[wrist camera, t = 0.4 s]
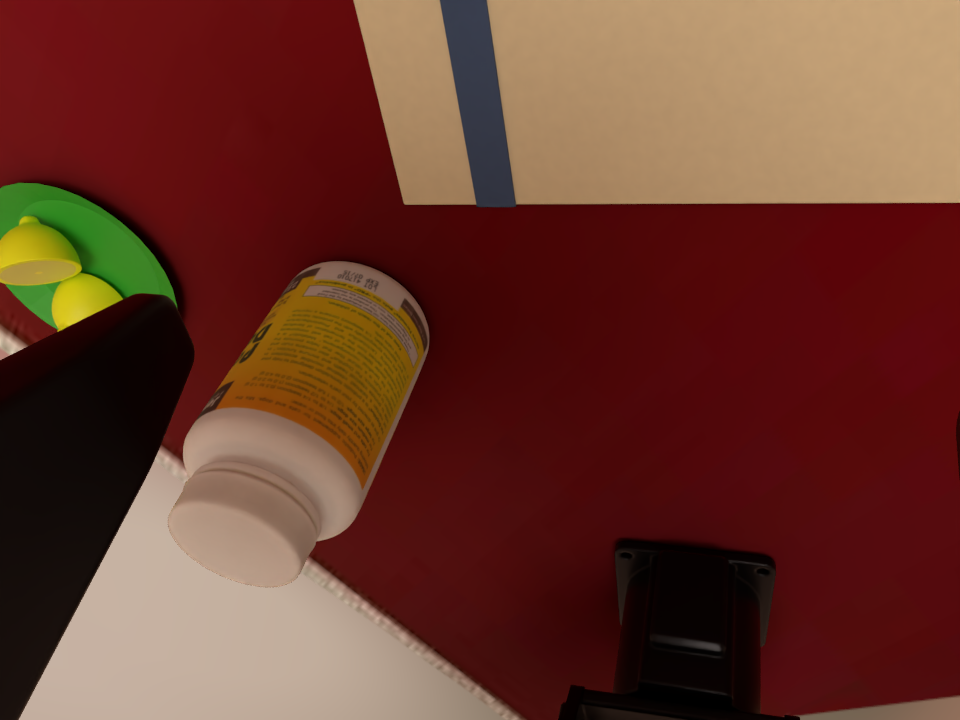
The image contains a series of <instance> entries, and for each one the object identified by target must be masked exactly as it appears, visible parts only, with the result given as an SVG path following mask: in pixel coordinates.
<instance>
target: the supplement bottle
mask: <svg viewBox="0 0 960 720" xmlns="http://www.w3.org/2000/svg"><path fill="white" fill-rule="evenodd" d="M428 349H429V329H428V325H427V321H426V318H425V316H424V314H423V312H422V310H421V308H420V306H419V305H418V303H417V302H416V300H415V299H414V298H413V296H412V295H411V294H410V293H409V292H408V291H407V290H406V289H405V288H404V287H403V286H402V285H401V284H399V283H398V282H397V281H395V280H394V279H392V278H391V277H389V276H388V275H386V274H384V273H382V272H380V271H378V270H376V269H374V268H371V267H369V266H365V265H362V264H358V263H353V262H346V261H330V262H323V263H319V264H316V265H313V266H311V267H309V268H307V269H305V270H303V271H302V272H301V273H299V274H298V275H297V276H296V277H295V278H294V279H293V280H292V281H291V282H290V284H289V285H288V287H287V288H286V289H285V291H284V292H283V293H282V295H281V296H280V298H279V299H278V300H277V302H276V304H275V305H274V307H273V308H272V309H271V311H270V312H269V314H268V315H267V317H266V318H265V320H264V321H263V323H262V324H261V326H260V327H259V329H258V330H257V332H256V333H255V334H254V336H253V337H252V339H251V340H250V342H249V343H248V345H247V346H246V348H245V349H244V351H243V352H242V353H241V355H240V357H239V358H238V360H237V361H236V363H235V364H234V365H233V367H232V368H231V370H230V371H229V373H228V374H227V376H226V377H225V379H224V380H223V382H222V383H221V385H220V386H219V387H218V389H217V390H216V392H215V393H214V395H213V396H212V397H211V399H210V400H209V402H208V404H207V405H206V406H205V408H204V409H203V411H202V412H201V414H200V415H199V417H198V418H197V420H196V421H195V423H194V424H193V426H192V427H191V429H190V431H189V432H188V434H187V436H186V439H185V442H184V447H183V460H184V465H185V469H186V471H187V473H188V476H189V478H190V479H189V480H188V481H187V482H186V484H185V486H184V488H183V492H182V493H181V495H180V497H179V499H178V500H177V502H176V503H175V505H174V506H173V508H172V510H171V512H170V514H169V517H168V527H169V531H170V533H171V535H172V537H173V539H174V540H175V542H176V543H177V544H178V545H179V547H180V548H181V549H182V550H183V551H184V552H186V554H187V555H189V556H190V557H191V558H192V559H193V560H195V561H196V562H197V563H199V564H200V565H202V566H204V567H205V568H207V569H209V570H211V571H213V572H215V573H216V574H219V575H220V576H223V577H225V578H228V579H230V580H233V581H236V582H240V583H243V584H247V585H253V586H258V587H278V586H283V585H286V584H288V583H290V582H292V581H294V580H295V579H296V578H297V577H298V575H299V574H300V572H301V570H302V568H303V566H304V564H305V562H306V560H307V558H308V556H309V554H310V552H311V551H312V550H313V548H314V546H315V544H316V541H321V540H325V539H329V538H331V537H334V536H336V535H338V534H340V533H341V532H343V531H344V530H345V529H347V528H348V527H349V526H350V525H351V523H352V522H353V521H354V519H355V518H356V516H357V514H358V512H359V511H360V509H361V507H362V505H363V502H364V500H365V498H366V495H367V493H368V491H369V489H370V486H371V484H372V482H373V479H374V477H375V475H376V473H377V470H378V468H379V466H380V463H381V461H382V459H383V456H384V454H385V452H386V449H387V447H388V445H389V442H390V440H391V438H392V436H393V433H394V431H395V429H396V427H397V424H398V422H399V420H400V417H401V415H402V413H403V410H404V408H405V406H406V403H407V401H408V399H409V396H410V394H411V392H412V389H413V387H414V385H415V383H416V380H417V378H418V376H419V373H420V371H421V368H422V366H423V363H424V361H425V358H426V356H427V353H428Z"/></svg>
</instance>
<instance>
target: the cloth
mask: <svg viewBox="0 0 960 720" xmlns="http://www.w3.org/2000/svg"><path fill="white" fill-rule="evenodd" d="M354 4H355V8H356V12H357V16H358V20H359V24H360V28H361V32H362V37H363V41H364V45H365V49H366V53H367V57H368V61H369V65H370V69H371V73H372V77H373V81H374V85H375V89H376V93H377V97H378V101H379V105H380V109H381V113H382V117H383V122H384V126H385V130H386V134H387V138H388V142H389V146H390V150H391V154H392V158H393V162H394V166H395V170H396V174H397V178H398V182H399V186H400V190H401V194H402V198H403V202H404V204H405V205H471V204H476V205H477V207H516V204H748V203H960V0H354Z"/></svg>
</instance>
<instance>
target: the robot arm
mask: <svg viewBox="0 0 960 720" xmlns="http://www.w3.org/2000/svg"><path fill="white" fill-rule="evenodd" d="M193 362H194V345H193V343H192V340H191V338H190V336H189V334H188V331H187V329H186V327H185V325H184V323H183V320H182V318H181V316H180V314H179V312H178V309H177V307H176V305H175V303H174V302H173V301H172V300H171V299H170V298H169V297H168V296H165V295H161V294H147V293H137V294H133V295H131V296H129V297H127V298H125V299H123V300H121V301H119V302H117V303H115V304H113V305H111V306H109V307H107V308H105V309H103V310H101V311H99V312H97V313H95V314H93V315H91V316H89V317H87V318H85V319H83V320H81V321H79V322H77V323H75V324H72V325H70V326H68V327H66V328H64V329H62V330H60V331H58V332H56V333H54V334H52V335H50V336H48V337H46V338H44V339H42V340H40V341H38V342H36V343H34V344H32V345H30V346H28V347H26V348H24V349H22V350H20V351H18V352H16V353H14V354H12V355H10V356H8V357H6V358H4V359H2V360H0V720H19V718H20V716H21V714H22V712H23V710H24V708H25V706H26V704H27V702H28V701H29V699H30V697H31V695H32V693H33V691H34V689H35V687H36V685H37V684H38V681H39V680H40V678H41V676H42V674H43V672H44V670H45V668H46V666H47V665H48V663H49V661H50V659H51V657H52V655H53V653H54V651H55V649H56V647H57V645H58V644H59V642H60V640H61V638H62V636H63V634H64V632H65V630H66V628H67V627H68V624H69V623H70V621H71V619H72V617H73V615H74V613H75V611H76V610H77V608H78V606H79V604H80V602H81V600H82V598H83V596H84V594H85V592H86V591H87V589H88V587H89V585H90V583H91V581H92V579H93V577H94V575H95V573H96V572H97V569H98V568H99V566H100V564H101V562H102V560H103V558H104V556H105V554H106V552H107V551H108V549H109V547H110V545H111V543H112V541H113V539H114V537H115V536H116V534H117V532H118V530H119V528H120V526H121V524H122V522H123V520H124V518H125V516H126V515H127V513H128V511H129V509H130V507H131V505H132V503H133V501H134V499H135V497H136V496H137V494H138V492H139V490H140V488H141V486H142V484H143V482H144V480H145V478H146V476H147V474H148V472H149V470H150V468H151V466H152V464H153V462H154V460H155V457H156V455H157V453H158V450H159V448H160V446H161V443H162V441H163V438H164V436H165V433H166V431H167V428H168V426H169V423H170V421H171V418H172V416H173V413H174V411H175V408H176V406H177V403H178V401H179V398H180V396H181V393H182V391H183V388H184V386H185V383H186V381H187V378H188V376H189V373H190V371H191V368H192V366H193ZM956 439H957V452H958V465H959V478H960V411H959V415H958V419H957V426H956ZM615 564H616V577H617V591H618V604H619V617H620V624H621V625H622V627H621V634H620V642H619V649H618V657H617V664H616V672H615V679H614V687H613V693H609V692H602V691H595V690H588V689H585V687H583V686H576V685H571V687H570V690H569V694H568V697H567V701H566V703H563V704H561V707H560V713H559V719H558V720H800V717H797V716H790V715H785V717H779V716H772V715H765V714H760V647H762V646H764V644H765V642H766V635H767V628H768V622H769V615H770V608H771V602H772V595H773V589H774V582H775V575H776V565H775V562H774V561H773V560H772V559H770V558H768V557H763V556H754V555H745V554H736V553H727V552H719V551H710V550H701V549H692V548H683V547H675V546H666V545H657V544H648V543H640V542H631V541H621V542H619V543H617V545H616V550H615Z"/></svg>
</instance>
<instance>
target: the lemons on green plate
mask: <svg viewBox="0 0 960 720" xmlns="http://www.w3.org/2000/svg"><path fill="white" fill-rule="evenodd" d="M0 282H1V283H4V284H6V286H7V287H8V288H9V289H10V290H11V292H12V293H13V294H14V295H15V296H16V297H17V298H18V299H19V300H20V301H21V302H22V303H23V304H24V305H25V306H26V307H27V308H28V309H30V310H31V311H32V312H33V313H35V314H36V315H37V316H38V317H40V318H41V319H42V320H43V321H45V322H46V323H48V324H49V325H51V326H53V327H54V328H56V329H57V330H58V331H60V330H62V329H64V328H66V327H68V326H70V325H72V324H75V323H77V322H79V321H81V320H83V319H85V318H87V317H89V316H91V315H93V314H95V313H97V312H99V311H101V310H103V309H105V308H107V307H109V306H111V305H113V304H115V303H117V302H119V301H121V300H123V299H125V298H127V297H129V296H131V295H133V294H137V293H147V294H161V295H165V296H168V297H169V298H170V299H171V300H172V301H173V302H174V303H175V305H176V307H177V304H176V300H175V296H174V292H173V288H172V286H171V284H170V282H169V280H168V278H167V276H166V273H165V272H164V270H163V269H162V267H161V266H160V264H159V263H158V261H157V260H156V258H155V257H154V255H153V254H152V253H151V252H150V250H149V249H148V248H147V247H146V246H145V245H144V244H143V242H142V241H141V240H140V239H139V238H138V237H137V236H136V235H135V234H134V233H133V232H131V231H130V230H129V229H128V228H127V227H126V226H125V225H124V224H123V223H121V222H120V221H119V220H117V219H116V218H115V217H113V216H112V215H110V214H109V213H108V212H106V211H105V210H103V209H102V208H100V207H99V206H97V205H95V204H93V203H91V202H89V201H88V200H86V199H84V198H82V197H80V196H78V195H75V194H73V193H70V192H67V191H65V190H62V189H60V188H56V187H52V186H47V185H43V184H38V183H17V184H12V185H7V186H3V187H2V188H0ZM58 331H57V332H58Z"/></svg>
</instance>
